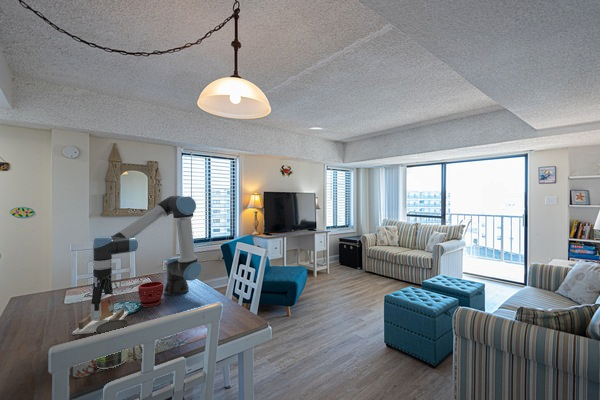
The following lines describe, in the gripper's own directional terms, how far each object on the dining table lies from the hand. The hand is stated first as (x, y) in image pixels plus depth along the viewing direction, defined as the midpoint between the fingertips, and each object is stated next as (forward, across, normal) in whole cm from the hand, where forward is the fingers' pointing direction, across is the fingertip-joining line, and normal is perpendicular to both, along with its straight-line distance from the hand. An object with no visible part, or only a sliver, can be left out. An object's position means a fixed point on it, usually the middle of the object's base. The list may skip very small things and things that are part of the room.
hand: (102, 312), depth 138 cm
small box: (+3, 0, 0) cm, 3 cm away
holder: (+5, 0, 0) cm, 5 cm away
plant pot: (+6, -22, +16) cm, 28 cm away
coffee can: (+6, +37, +19) cm, 42 cm away
